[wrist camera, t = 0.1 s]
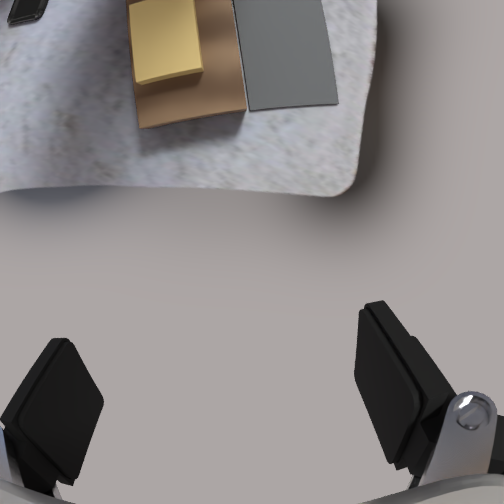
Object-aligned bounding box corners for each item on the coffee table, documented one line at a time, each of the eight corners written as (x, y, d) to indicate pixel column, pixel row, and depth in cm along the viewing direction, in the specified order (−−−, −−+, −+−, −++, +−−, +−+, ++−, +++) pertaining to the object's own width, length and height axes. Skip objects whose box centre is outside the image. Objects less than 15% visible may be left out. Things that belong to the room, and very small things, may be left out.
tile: (134, 11, 25) (129, 5, 23) (194, -4, 25) (191, -11, 23) (142, 84, 29) (135, 82, 27) (203, 71, 29) (201, 67, 27)
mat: (229, -26, 27) (229, -27, 27) (313, -29, 27) (313, -30, 27) (250, 110, 35) (250, 110, 34) (337, 103, 34) (338, 103, 34)
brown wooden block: (134, -6, 27) (125, -17, 23) (225, -25, 27) (224, -39, 23) (149, 128, 35) (139, 128, 31) (245, 110, 34) (246, 108, 31)
